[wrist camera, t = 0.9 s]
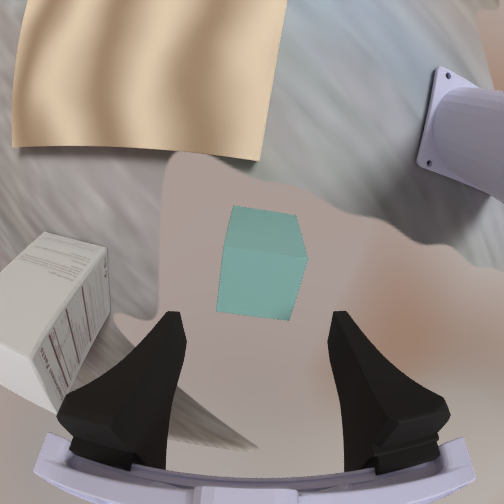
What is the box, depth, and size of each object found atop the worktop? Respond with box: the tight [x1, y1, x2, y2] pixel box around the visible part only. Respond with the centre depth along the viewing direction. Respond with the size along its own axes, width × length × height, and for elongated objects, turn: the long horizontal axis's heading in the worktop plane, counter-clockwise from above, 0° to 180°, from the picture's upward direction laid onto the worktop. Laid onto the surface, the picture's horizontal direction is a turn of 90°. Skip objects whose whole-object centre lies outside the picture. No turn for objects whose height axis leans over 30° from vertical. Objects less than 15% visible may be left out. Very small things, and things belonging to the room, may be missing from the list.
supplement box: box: [0, 232, 111, 414], centre depth 18 cm, size 7×7×13 cm
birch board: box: [12, 0, 287, 161], centre depth 14 cm, size 20×16×2 cm
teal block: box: [216, 206, 308, 321], centre depth 19 cm, size 4×4×6 cm
